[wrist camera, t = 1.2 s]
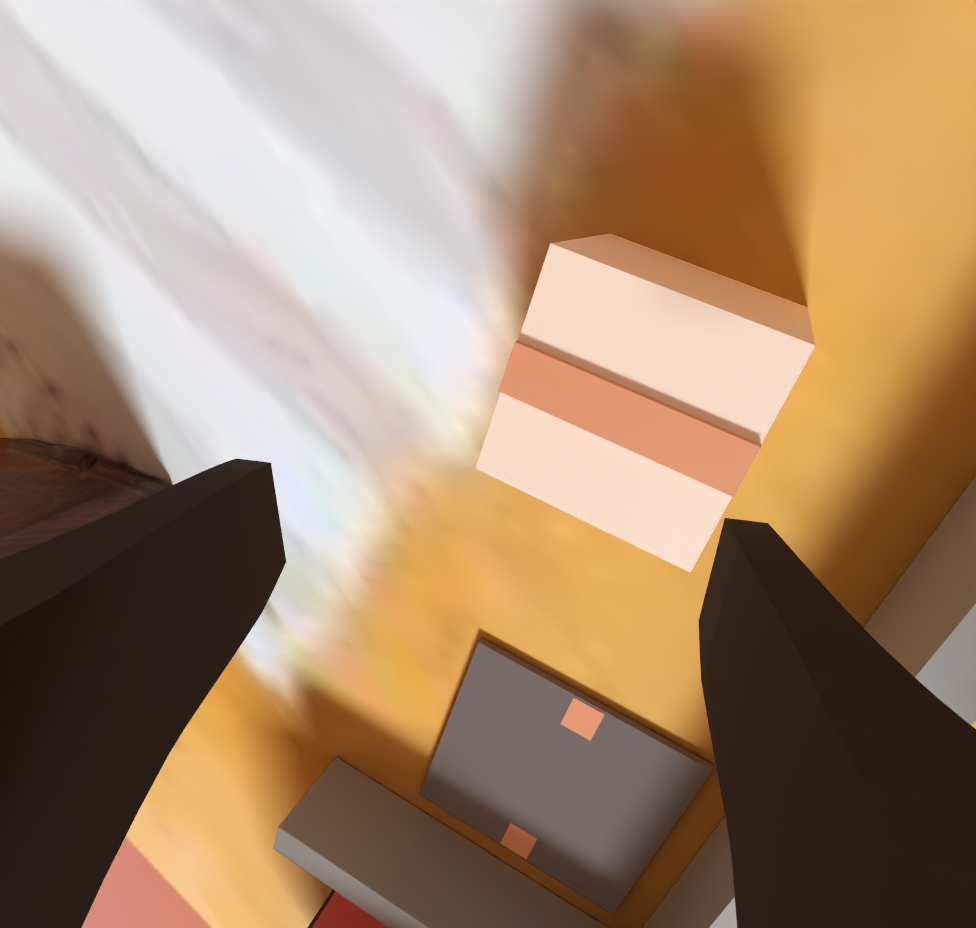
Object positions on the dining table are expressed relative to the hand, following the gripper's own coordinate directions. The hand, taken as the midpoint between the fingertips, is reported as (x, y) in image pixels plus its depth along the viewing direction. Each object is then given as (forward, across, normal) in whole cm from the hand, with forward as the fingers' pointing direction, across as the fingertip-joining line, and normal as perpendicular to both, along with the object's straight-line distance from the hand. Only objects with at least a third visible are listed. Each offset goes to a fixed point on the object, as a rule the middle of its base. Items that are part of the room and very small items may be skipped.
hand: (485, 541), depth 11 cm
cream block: (+10, -3, 0) cm, 11 cm away
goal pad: (+8, -2, +17) cm, 19 cm away
